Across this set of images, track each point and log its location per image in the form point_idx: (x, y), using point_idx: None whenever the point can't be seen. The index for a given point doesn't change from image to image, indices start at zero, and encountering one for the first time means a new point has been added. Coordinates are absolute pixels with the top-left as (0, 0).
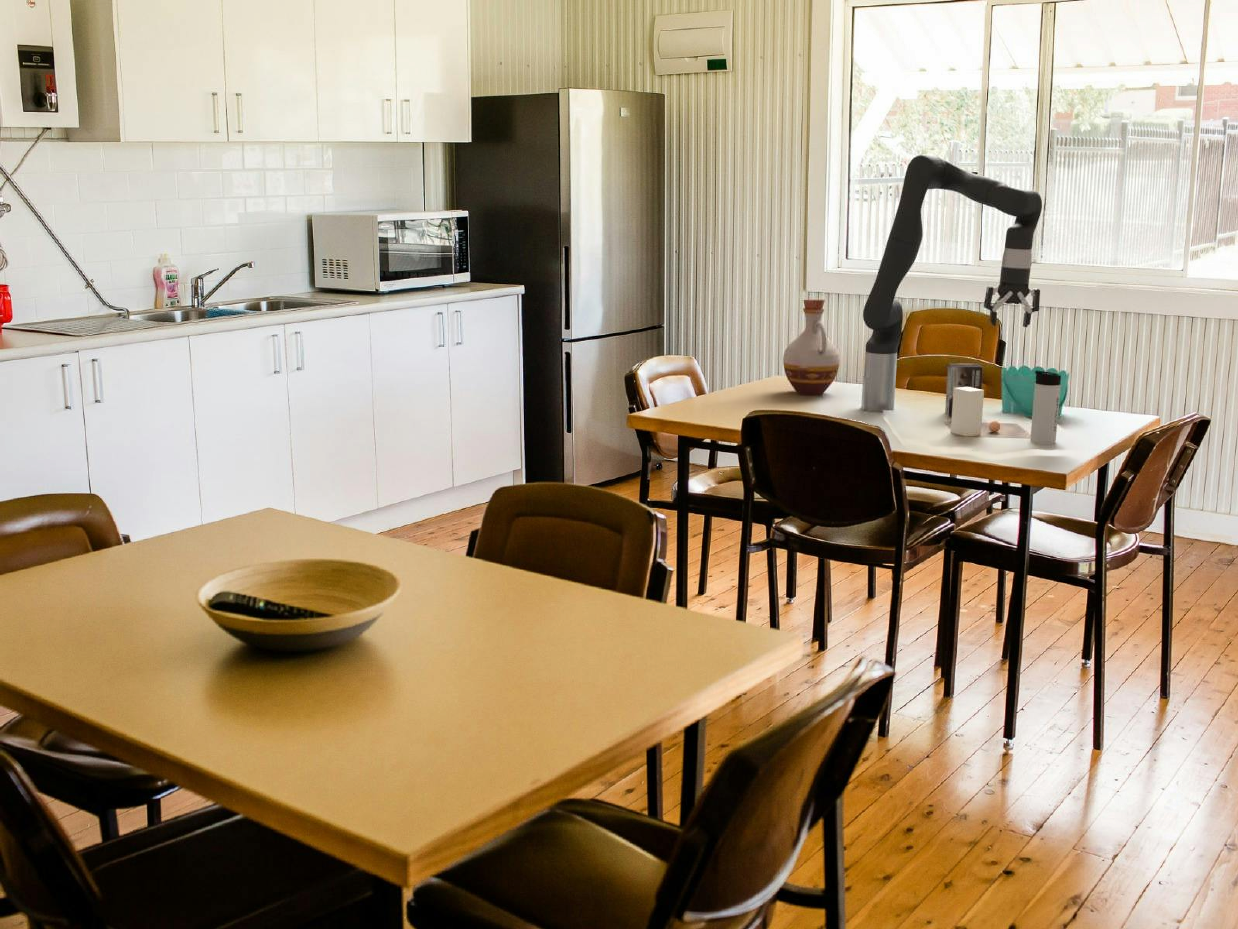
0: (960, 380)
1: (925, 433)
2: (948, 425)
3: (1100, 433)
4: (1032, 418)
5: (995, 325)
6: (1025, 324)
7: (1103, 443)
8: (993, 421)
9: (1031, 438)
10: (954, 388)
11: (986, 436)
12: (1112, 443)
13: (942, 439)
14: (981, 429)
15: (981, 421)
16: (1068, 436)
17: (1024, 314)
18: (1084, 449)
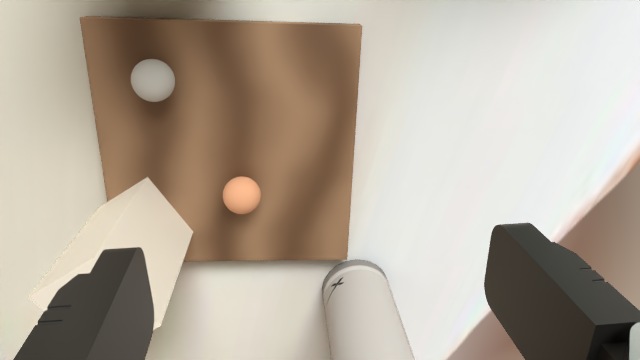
0: None
1: (21, 138)
2: (95, 91)
3: (616, 75)
4: (329, 341)
5: (152, 317)
6: (498, 314)
7: (545, 221)
8: (235, 205)
9: (324, 306)
10: (32, 300)
11: (207, 253)
12: (570, 218)
13: (79, 222)
14: (208, 150)
15: (184, 254)
16: (489, 135)
17: (573, 327)
18: (457, 296)
